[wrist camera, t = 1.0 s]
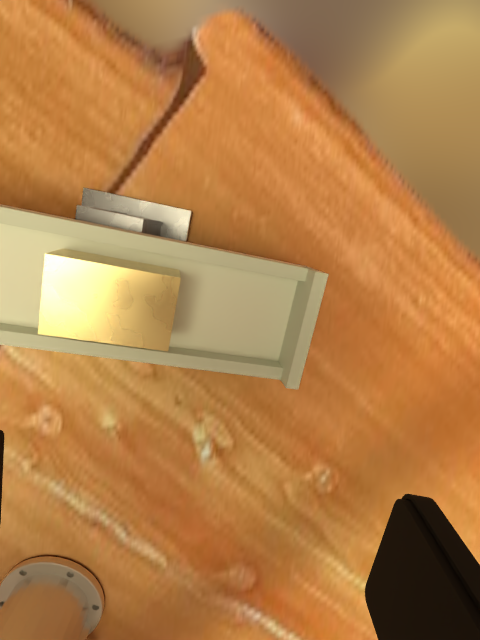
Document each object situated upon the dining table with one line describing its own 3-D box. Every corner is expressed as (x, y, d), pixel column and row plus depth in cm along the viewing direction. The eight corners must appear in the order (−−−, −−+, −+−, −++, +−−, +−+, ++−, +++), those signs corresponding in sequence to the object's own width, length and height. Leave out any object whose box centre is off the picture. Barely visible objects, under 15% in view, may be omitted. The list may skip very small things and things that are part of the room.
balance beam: (291, 260, 34) (328, 274, 26) (269, 351, 36) (298, 389, 28) (-115, 178, 27) (-234, 161, 19) (-114, 296, 29) (-221, 326, 21)
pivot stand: (192, 211, 36) (179, 205, 28) (168, 348, 39) (151, 377, 31) (87, 188, 35) (44, 176, 27) (72, 329, 38) (29, 354, 30)
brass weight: (179, 269, 27) (180, 278, 24) (168, 333, 29) (168, 351, 25) (63, 248, 26) (44, 253, 22) (56, 317, 27) (37, 334, 23)
